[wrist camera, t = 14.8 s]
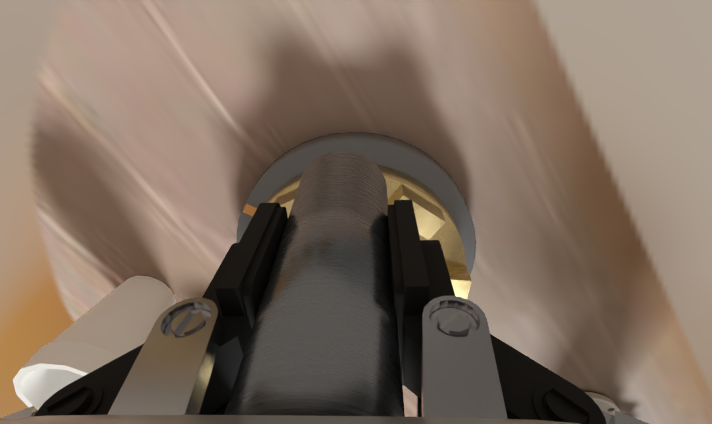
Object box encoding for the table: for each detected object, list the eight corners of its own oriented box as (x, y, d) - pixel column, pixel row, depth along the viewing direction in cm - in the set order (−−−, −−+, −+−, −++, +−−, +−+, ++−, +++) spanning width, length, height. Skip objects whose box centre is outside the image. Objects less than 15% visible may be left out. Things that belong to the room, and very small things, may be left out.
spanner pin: (392, 155, 13) (436, 516, 4) (381, 229, 14) (397, 587, 6) (299, 146, 13) (162, 497, 4) (300, 222, 14) (203, 575, 6)
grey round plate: (506, 164, 34) (518, 178, 31) (426, 334, 45) (430, 356, 42) (256, 105, 32) (245, 114, 29) (238, 298, 43) (229, 318, 40)
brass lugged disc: (208, 216, 34) (187, 244, 30) (412, 121, 29) (418, 140, 25) (316, 351, 42) (310, 387, 38) (487, 297, 37) (500, 332, 33)
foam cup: (199, 322, 45) (142, 428, 34) (130, 327, 46) (52, 432, 35) (169, 260, 41) (91, 359, 29) (93, 268, 42) (-11, 366, 30)
